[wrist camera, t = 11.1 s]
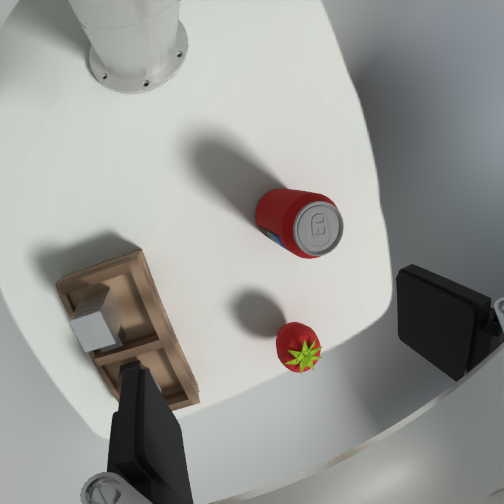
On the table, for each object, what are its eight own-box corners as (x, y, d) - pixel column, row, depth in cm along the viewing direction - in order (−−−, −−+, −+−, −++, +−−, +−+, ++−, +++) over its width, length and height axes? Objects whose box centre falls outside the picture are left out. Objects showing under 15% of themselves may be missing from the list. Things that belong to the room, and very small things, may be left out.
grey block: (83, 297, 35) (68, 321, 28) (110, 287, 35) (100, 311, 29) (103, 338, 36) (94, 368, 30) (129, 330, 37) (124, 359, 31)
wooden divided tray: (61, 277, 35) (37, 304, 27) (141, 249, 37) (134, 270, 29) (127, 403, 42) (124, 444, 33) (197, 384, 44) (206, 424, 35)
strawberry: (274, 357, 46) (299, 396, 37) (258, 319, 44) (282, 355, 34) (308, 340, 47) (339, 375, 38) (295, 301, 45) (327, 332, 35)
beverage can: (256, 242, 41) (290, 268, 30) (250, 190, 39) (284, 197, 28) (303, 235, 42) (350, 256, 31) (300, 185, 41) (348, 191, 29)
